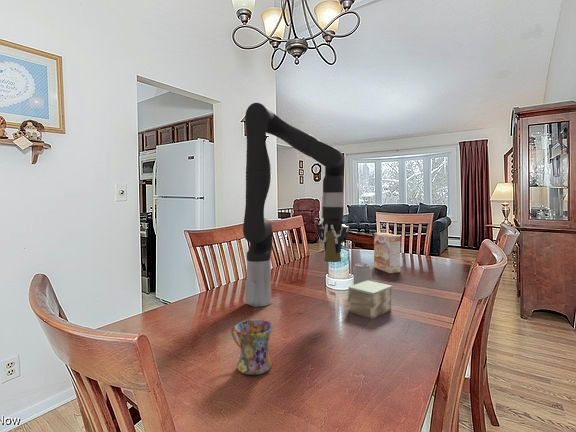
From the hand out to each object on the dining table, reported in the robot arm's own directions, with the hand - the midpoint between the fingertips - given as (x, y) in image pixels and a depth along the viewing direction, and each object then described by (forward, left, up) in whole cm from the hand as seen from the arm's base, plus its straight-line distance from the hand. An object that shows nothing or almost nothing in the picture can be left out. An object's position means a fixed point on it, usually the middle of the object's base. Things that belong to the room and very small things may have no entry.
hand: (332, 252), depth 121 cm
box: (+9, -10, -21) cm, 25 cm away
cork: (0, 0, -3) cm, 3 cm away
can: (+26, +5, -21) cm, 34 cm away
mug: (-45, -11, -21) cm, 51 cm away
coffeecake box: (+69, +19, -21) cm, 75 cm away
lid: (+9, -10, -13) cm, 19 cm away
